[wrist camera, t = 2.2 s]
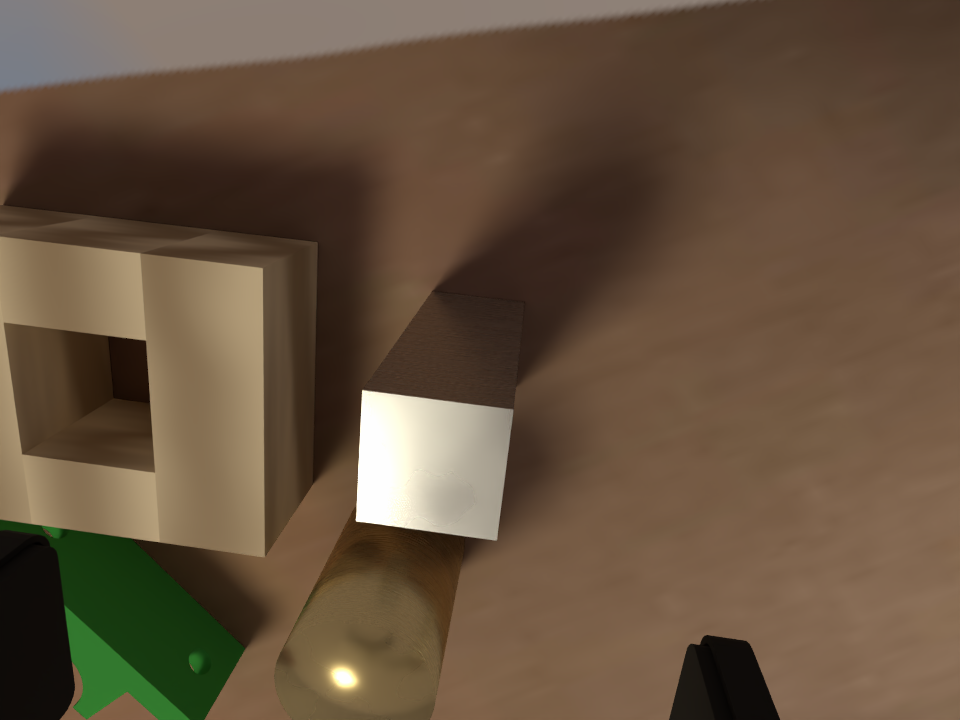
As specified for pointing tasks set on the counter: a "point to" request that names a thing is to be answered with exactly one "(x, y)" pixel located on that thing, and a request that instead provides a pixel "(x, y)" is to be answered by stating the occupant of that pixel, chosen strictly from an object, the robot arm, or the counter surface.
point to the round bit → (373, 627)
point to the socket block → (155, 379)
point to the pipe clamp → (136, 628)
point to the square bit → (442, 419)
